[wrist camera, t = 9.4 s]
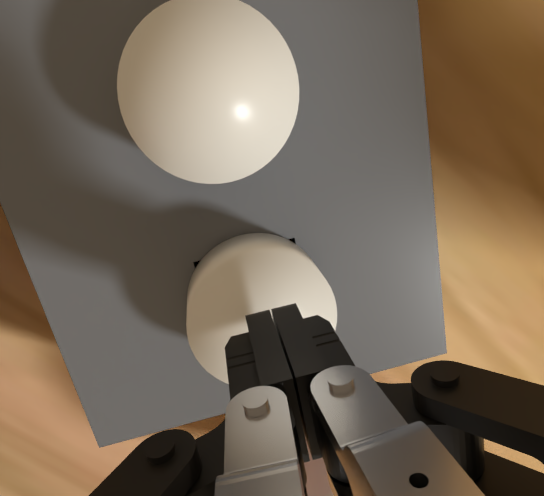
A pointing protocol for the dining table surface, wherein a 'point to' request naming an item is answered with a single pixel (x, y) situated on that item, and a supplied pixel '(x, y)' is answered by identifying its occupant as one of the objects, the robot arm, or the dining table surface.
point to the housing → (214, 199)
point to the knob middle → (208, 89)
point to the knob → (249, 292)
